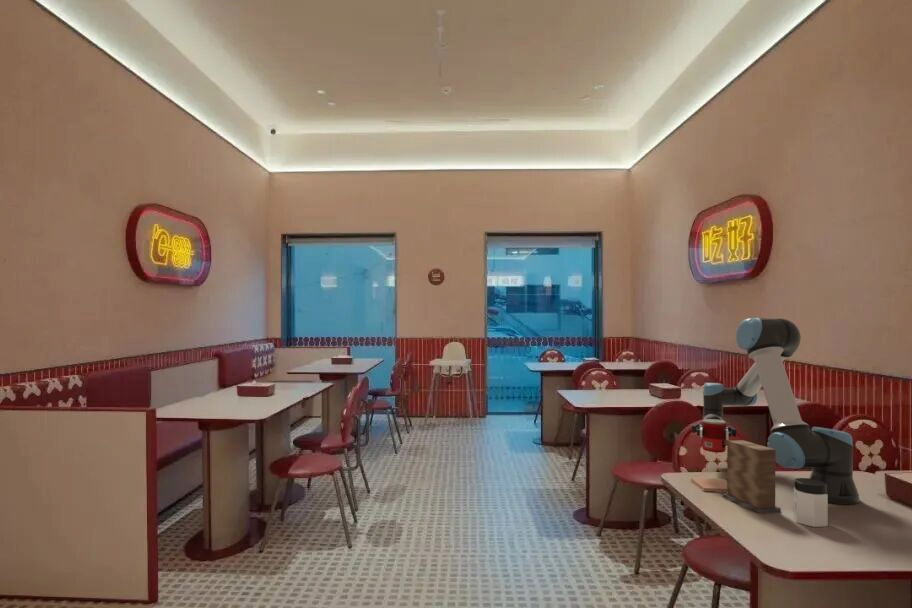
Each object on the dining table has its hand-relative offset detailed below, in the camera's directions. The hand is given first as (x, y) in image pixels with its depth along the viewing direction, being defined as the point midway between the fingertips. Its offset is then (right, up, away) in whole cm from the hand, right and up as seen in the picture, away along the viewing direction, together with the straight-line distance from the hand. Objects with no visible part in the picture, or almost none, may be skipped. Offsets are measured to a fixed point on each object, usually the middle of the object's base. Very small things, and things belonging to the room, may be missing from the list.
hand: (714, 434), depth 204 cm
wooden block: (+1, -17, -22) cm, 28 cm away
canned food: (+2, -7, +4) cm, 8 cm away
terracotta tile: (-2, -18, -4) cm, 18 cm away
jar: (+11, -17, -38) cm, 43 cm away
